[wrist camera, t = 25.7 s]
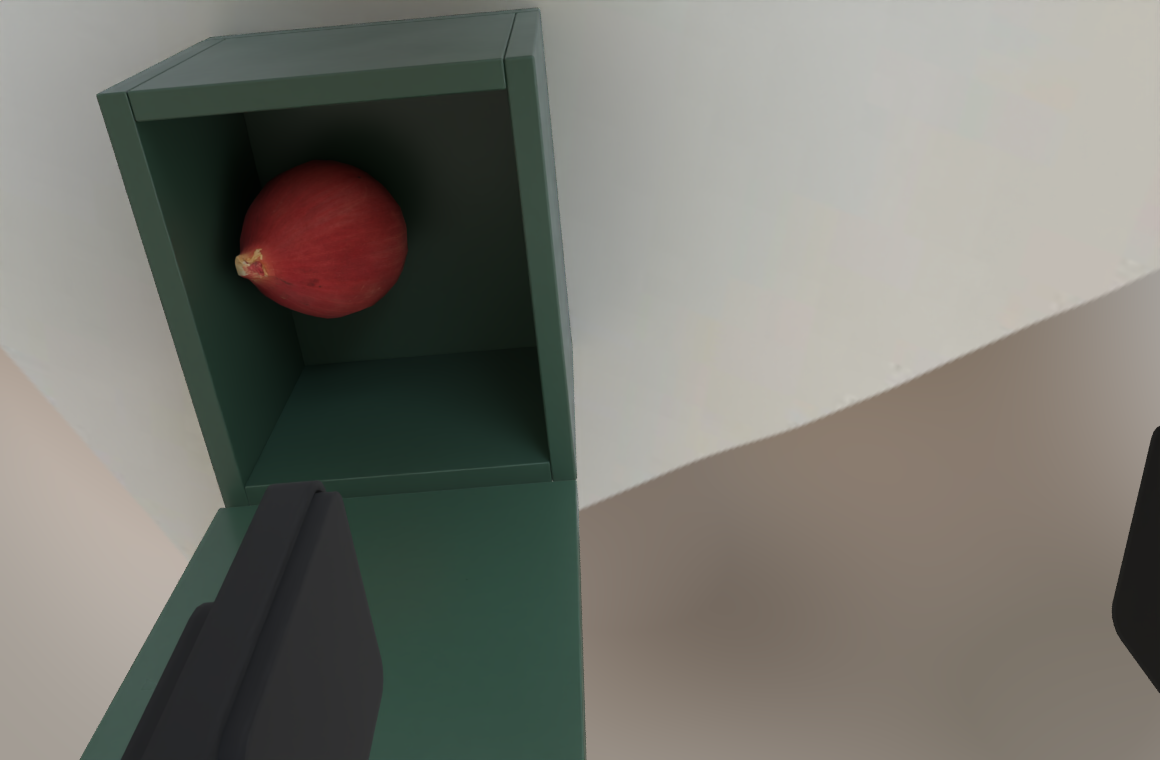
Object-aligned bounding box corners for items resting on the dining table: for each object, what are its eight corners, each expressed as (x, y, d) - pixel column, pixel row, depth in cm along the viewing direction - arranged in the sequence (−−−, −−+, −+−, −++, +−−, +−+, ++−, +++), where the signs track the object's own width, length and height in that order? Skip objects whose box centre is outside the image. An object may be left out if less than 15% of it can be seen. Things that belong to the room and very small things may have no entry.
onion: (402, 310, 41) (253, 380, 35) (321, 202, 41) (159, 252, 35) (475, 232, 37) (322, 295, 31) (386, 113, 37) (217, 152, 31)
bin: (208, 37, 37) (95, 94, 28) (539, 7, 37) (534, 55, 28) (294, 374, 44) (225, 509, 35) (572, 352, 44) (576, 481, 35)
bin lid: (-14, 924, 20) (65, 1064, 23) (588, 880, 20) (605, 1027, 23) (218, 507, 34) (252, 621, 37) (576, 479, 34) (587, 594, 36)
